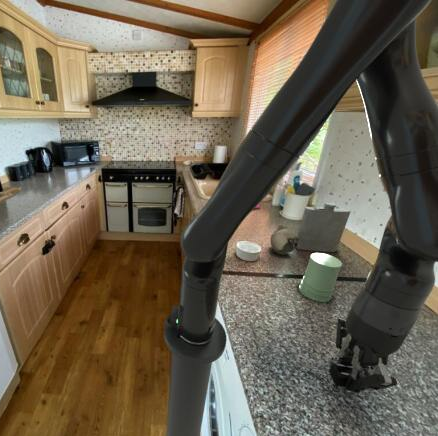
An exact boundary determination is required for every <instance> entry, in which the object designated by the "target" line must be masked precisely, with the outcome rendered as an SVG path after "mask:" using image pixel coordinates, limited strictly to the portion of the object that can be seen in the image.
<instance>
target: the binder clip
mask: <svg viewBox="0 0 438 436" xmlns="http://www.w3.org/2000/svg"><path fill="white" fill-rule="evenodd" d="M352 369H353V366H347V365H341V364H337V362H336V363H335V362H332V363H331V365H330V367H329V370H328V374H329V375H330V377H331V379H332V381H333V383H334V386H337V387H340V388H341V387H342V388H345V386H344V385H345V384H346V382H347V380H348V377H349V375H350V374H351V373H352ZM360 373H361V374H364V372H363V371H362V372H360ZM366 390H367V388H362V390H361V392H365V391H366Z"/></svg>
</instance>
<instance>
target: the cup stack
mask: <svg viewBox="0 0 438 436" xmlns="http://www.w3.org/2000/svg"><path fill="white" fill-rule="evenodd" d="M307 263H308V264H307V266H306V269H305V272H304V275H303V276H302V279H301V281H300V284H299V286H298V290H299V292H300V293H301V295H303V296H305V297H306V298H308V299H309V300H311V301H315V302H318V303H328V302H330V301H331V299H332V296H333V294H334V289H335V285H336V282H337V279H338V278H339V274H340V271H341V269H342V266H343V263H342V261H341V260H340V259H339V258H337V257H335V256H333V255H330V254H327V253H324V252H314V253H311V254H310V256H309V259H308V262H307Z"/></svg>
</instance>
